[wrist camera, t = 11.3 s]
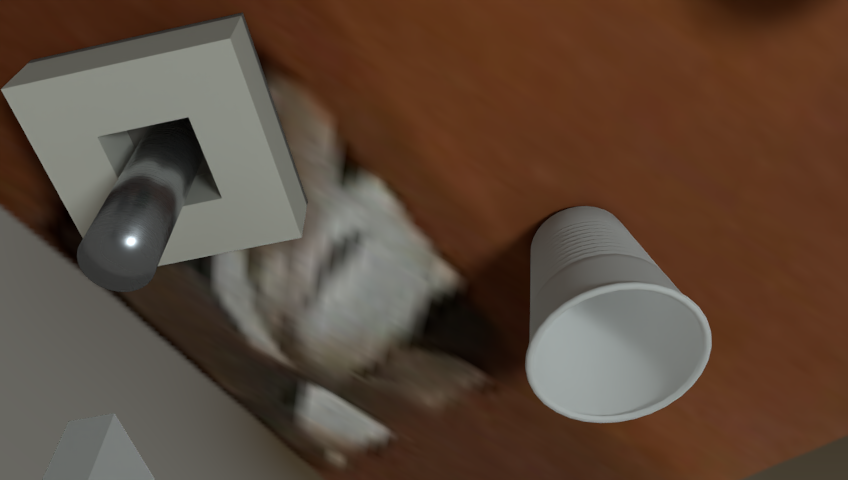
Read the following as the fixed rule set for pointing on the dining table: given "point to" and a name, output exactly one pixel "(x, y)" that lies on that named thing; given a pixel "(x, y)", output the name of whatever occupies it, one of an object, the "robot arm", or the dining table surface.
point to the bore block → (157, 103)
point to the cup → (607, 322)
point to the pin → (142, 208)
